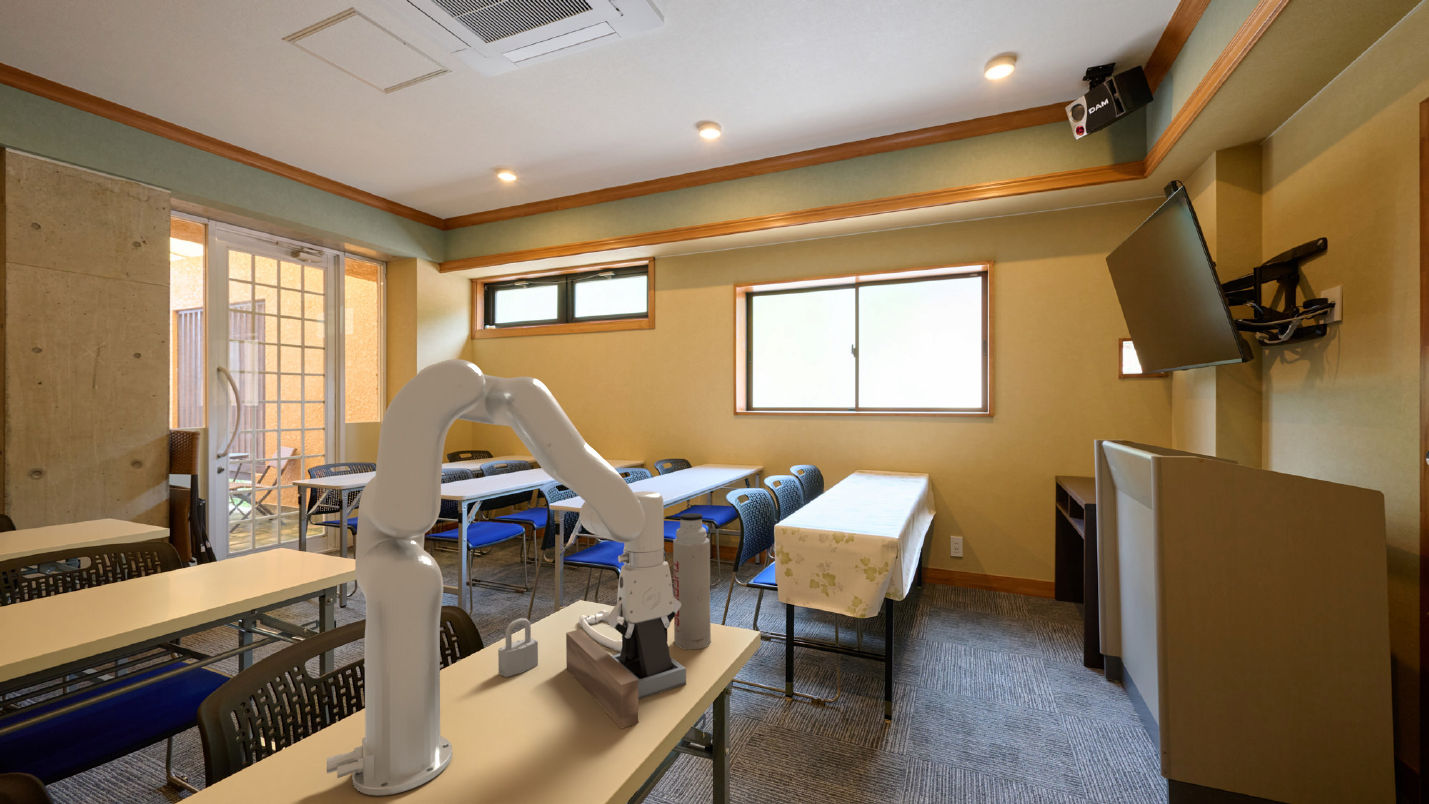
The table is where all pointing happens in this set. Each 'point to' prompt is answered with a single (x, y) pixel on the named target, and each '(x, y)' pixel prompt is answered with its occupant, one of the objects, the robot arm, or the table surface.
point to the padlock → (518, 651)
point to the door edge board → (603, 678)
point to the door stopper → (648, 650)
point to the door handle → (596, 635)
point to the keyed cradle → (659, 679)
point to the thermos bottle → (692, 583)
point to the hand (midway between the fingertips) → (645, 650)
